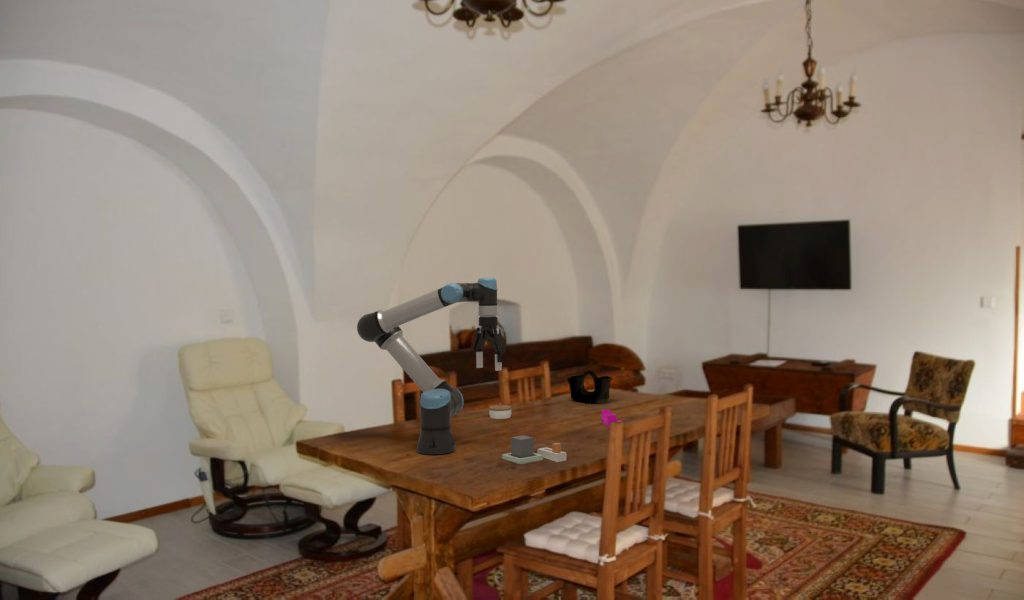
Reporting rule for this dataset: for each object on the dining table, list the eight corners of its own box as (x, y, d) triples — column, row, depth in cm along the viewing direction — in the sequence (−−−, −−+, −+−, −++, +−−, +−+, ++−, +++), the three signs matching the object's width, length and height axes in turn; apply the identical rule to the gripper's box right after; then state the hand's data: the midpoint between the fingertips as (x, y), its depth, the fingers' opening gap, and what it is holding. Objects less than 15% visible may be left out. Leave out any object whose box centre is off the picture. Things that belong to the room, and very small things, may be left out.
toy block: (622, 432, 344) (622, 415, 343) (608, 432, 343) (608, 415, 343) (615, 425, 359) (615, 409, 358) (601, 426, 358) (601, 409, 358)
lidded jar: (485, 424, 366) (485, 404, 365) (493, 420, 376) (493, 401, 376) (507, 425, 362) (507, 405, 362) (514, 421, 372) (514, 401, 372)
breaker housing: (557, 462, 286) (557, 454, 286) (537, 456, 296) (537, 448, 296) (566, 460, 289) (566, 452, 289) (546, 455, 299) (546, 447, 299)
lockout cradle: (519, 464, 283) (519, 459, 283) (502, 459, 292) (502, 454, 292) (542, 460, 290) (542, 455, 290) (525, 455, 298) (525, 450, 298)
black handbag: (616, 409, 403) (615, 371, 403) (607, 412, 394) (607, 373, 393) (573, 406, 416) (572, 368, 416) (563, 408, 407) (563, 371, 406)
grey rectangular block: (520, 461, 287) (520, 439, 286) (511, 458, 291) (510, 437, 291) (533, 459, 290) (533, 437, 290) (524, 456, 295) (523, 435, 295)
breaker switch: (556, 452, 289) (555, 444, 288) (552, 451, 290) (551, 443, 290) (561, 451, 290) (561, 443, 290) (557, 450, 292) (556, 442, 292)
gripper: (513, 316, 305) (514, 370, 305) (478, 315, 325) (479, 365, 325) (497, 317, 300) (498, 372, 301) (463, 315, 320) (464, 367, 321)
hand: (488, 369), depth 313 cm, fingers open, 13 cm apart
